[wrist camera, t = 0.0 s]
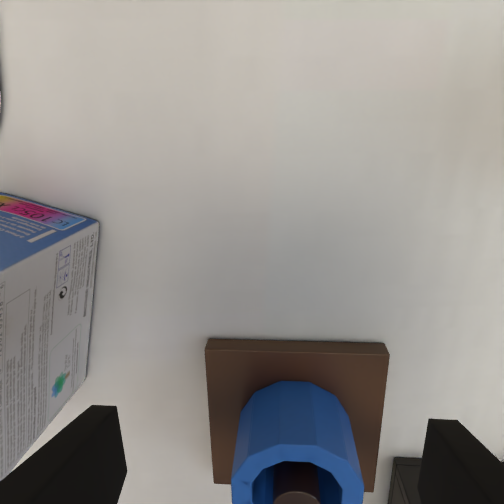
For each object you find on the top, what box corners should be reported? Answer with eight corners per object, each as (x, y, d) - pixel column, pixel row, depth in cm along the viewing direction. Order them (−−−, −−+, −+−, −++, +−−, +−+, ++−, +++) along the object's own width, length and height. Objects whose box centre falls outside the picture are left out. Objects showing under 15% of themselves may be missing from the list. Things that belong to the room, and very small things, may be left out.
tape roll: (344, 468, 21) (358, 545, 17) (242, 463, 21) (233, 537, 17) (351, 382, 19) (368, 448, 15) (239, 378, 19) (228, 441, 16)
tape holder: (369, 477, 22) (397, 589, 17) (216, 468, 23) (196, 574, 17) (384, 342, 19) (423, 427, 14) (208, 338, 20) (181, 417, 15)
